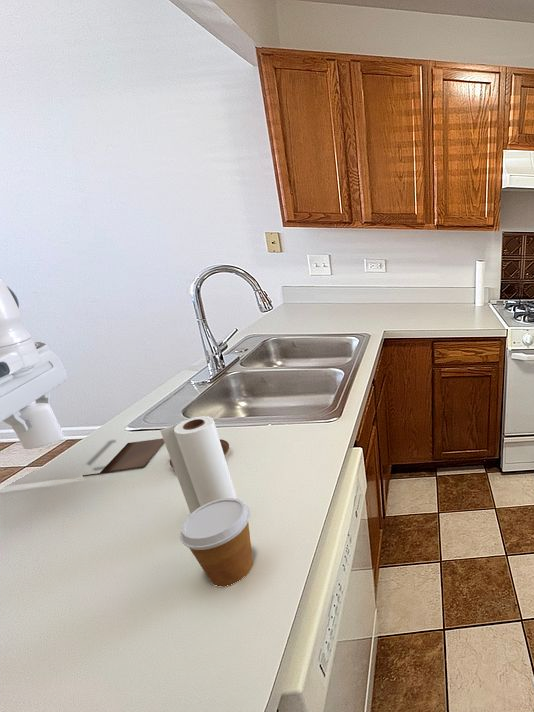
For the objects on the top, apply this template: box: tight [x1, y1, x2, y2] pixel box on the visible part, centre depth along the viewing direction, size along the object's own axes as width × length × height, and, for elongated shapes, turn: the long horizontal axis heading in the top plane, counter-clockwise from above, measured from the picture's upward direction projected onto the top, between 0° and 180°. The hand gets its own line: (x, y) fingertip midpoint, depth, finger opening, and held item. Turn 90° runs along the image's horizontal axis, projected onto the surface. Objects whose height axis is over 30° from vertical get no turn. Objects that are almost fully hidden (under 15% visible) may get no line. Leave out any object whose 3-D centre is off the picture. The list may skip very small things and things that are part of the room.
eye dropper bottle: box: [15, 400, 65, 450], centre depth 77 cm, size 4×6×12 cm
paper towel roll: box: [159, 415, 238, 514], centre depth 75 cm, size 7×6×21 cm
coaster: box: [82, 437, 165, 478], centre depth 97 cm, size 12×12×1 cm
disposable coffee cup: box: [179, 498, 254, 587], centre depth 65 cm, size 10×10×12 cm
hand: (35, 422), depth 77 cm, fingers closed on eye dropper bottle, 4 cm apart
